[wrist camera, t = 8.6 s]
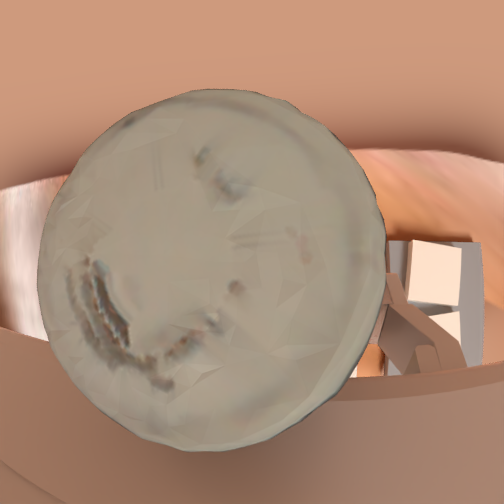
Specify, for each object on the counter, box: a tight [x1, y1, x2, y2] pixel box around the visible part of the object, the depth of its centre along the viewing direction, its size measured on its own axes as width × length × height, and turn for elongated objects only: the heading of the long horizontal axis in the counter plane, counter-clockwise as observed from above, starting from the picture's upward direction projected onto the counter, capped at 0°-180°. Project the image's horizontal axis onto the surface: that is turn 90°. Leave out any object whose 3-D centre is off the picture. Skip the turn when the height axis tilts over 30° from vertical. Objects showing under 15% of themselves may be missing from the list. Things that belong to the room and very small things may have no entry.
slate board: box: [384, 241, 484, 376], centre depth 23 cm, size 10×12×1 cm
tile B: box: [404, 240, 462, 306], centre depth 23 cm, size 5×5×1 cm
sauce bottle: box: [37, 89, 387, 452], centre depth 12 cm, size 6×6×20 cm
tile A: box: [428, 311, 461, 346], centre depth 22 cm, size 5×5×1 cm
